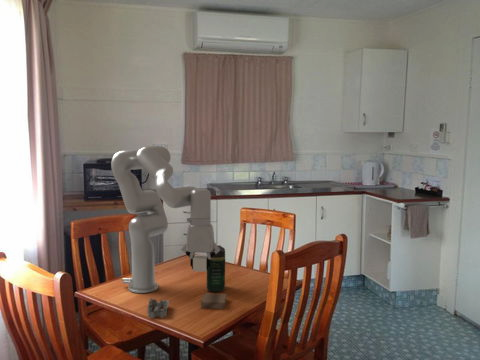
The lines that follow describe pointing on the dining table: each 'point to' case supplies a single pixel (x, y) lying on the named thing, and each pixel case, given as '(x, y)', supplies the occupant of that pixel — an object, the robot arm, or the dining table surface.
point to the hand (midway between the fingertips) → (200, 268)
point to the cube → (200, 263)
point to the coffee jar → (217, 272)
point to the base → (213, 301)
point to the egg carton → (157, 308)
